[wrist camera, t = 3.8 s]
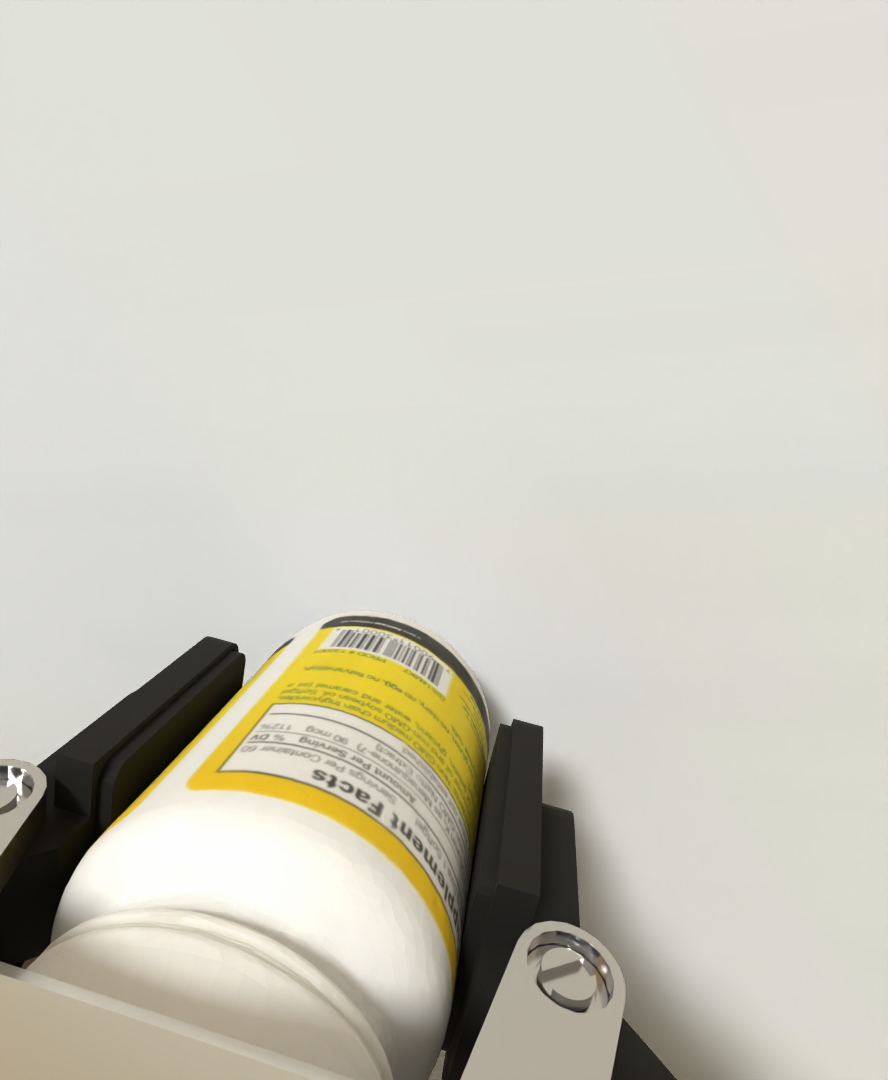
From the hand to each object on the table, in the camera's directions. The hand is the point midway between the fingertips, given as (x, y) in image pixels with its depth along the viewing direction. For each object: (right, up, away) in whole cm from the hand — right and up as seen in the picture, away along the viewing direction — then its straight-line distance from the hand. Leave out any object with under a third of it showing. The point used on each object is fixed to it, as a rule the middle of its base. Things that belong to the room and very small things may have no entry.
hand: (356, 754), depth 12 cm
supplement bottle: (0, 0, +2) cm, 2 cm away
